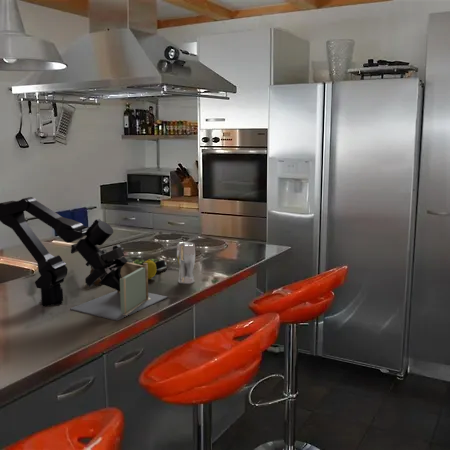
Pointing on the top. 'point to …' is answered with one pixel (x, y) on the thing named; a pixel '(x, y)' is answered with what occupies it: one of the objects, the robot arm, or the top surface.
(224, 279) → the top surface
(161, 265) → the salad plate
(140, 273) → the pale green panel
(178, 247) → the beer glass
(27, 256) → the top surface
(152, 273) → the lemon
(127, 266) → the fence fixed section
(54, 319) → the top surface
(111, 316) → the card
